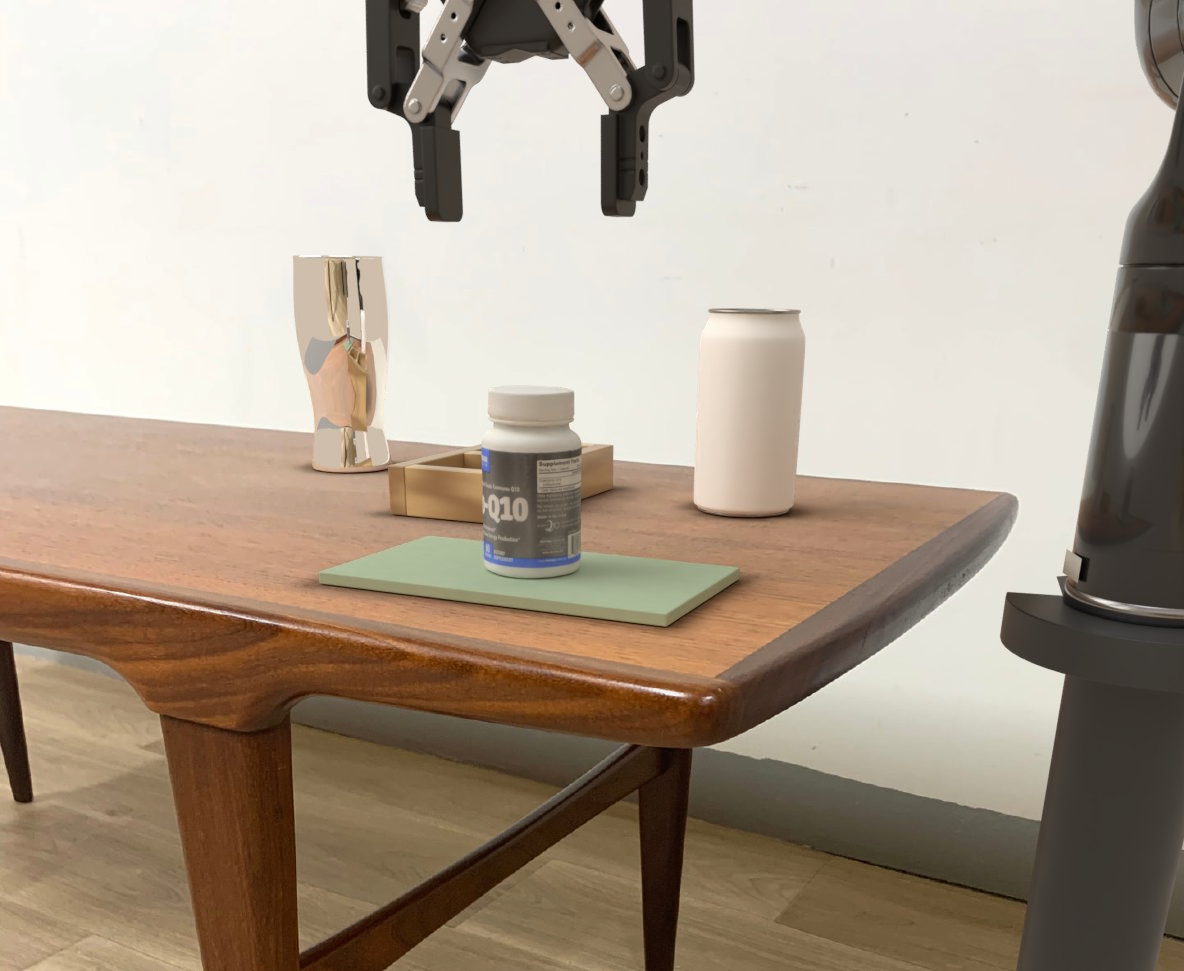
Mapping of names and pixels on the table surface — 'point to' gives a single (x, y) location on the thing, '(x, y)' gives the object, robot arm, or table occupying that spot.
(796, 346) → the can
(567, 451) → the pill bottle
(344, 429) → the beer glass
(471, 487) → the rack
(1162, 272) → the robot arm
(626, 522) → the table surface
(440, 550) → the mat
